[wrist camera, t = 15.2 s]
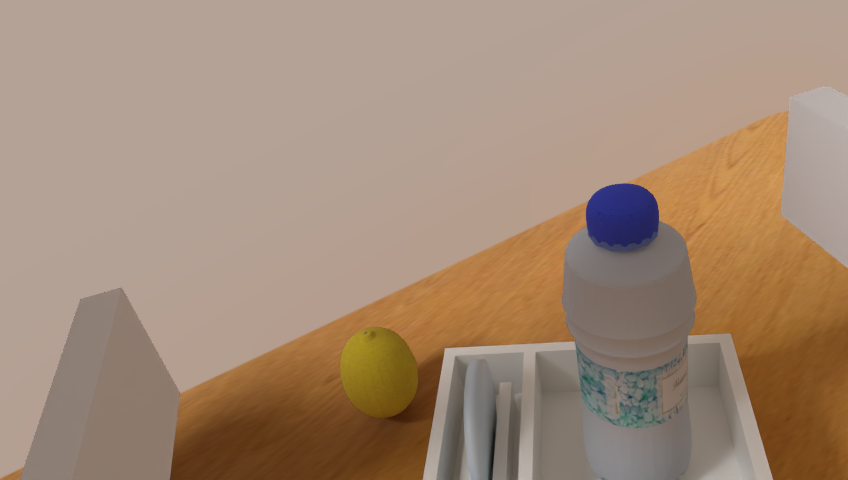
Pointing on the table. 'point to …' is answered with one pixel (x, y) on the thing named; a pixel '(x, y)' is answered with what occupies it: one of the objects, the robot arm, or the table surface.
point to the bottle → (631, 335)
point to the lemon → (378, 372)
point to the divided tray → (575, 415)
